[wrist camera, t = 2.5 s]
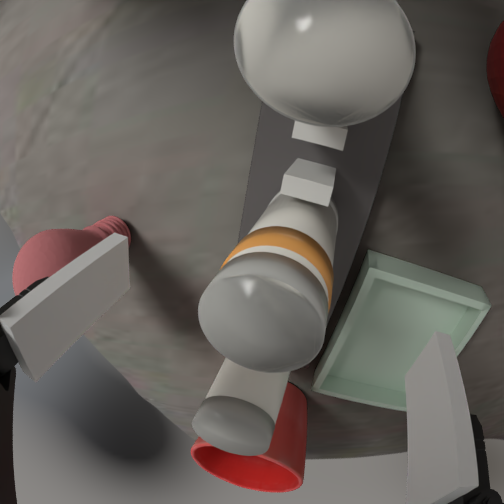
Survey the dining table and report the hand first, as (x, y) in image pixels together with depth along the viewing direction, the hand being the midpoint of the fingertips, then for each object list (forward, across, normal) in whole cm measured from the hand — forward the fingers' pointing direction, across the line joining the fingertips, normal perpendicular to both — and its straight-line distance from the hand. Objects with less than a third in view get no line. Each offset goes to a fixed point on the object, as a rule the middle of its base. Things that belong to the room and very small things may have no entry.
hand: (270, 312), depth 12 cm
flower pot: (+11, +2, -20) cm, 23 cm away
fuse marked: (+10, 0, 0) cm, 10 cm away
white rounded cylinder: (+9, 0, +10) cm, 13 cm away
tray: (+11, +10, -7) cm, 16 cm away
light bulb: (+11, -15, -5) cm, 19 cm away
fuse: (+10, 0, -8) cm, 13 cm away
